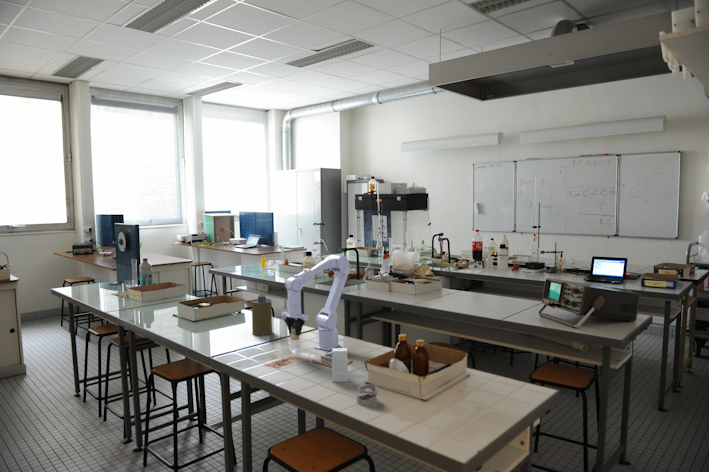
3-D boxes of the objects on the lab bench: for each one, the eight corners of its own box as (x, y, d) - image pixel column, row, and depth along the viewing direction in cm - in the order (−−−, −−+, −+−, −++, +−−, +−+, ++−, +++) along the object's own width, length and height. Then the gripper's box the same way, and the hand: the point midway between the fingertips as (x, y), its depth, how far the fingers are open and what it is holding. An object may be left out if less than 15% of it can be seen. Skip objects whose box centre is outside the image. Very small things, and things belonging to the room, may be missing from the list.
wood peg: (294, 337, 213) (294, 324, 212) (300, 338, 211) (300, 325, 210) (289, 339, 210) (289, 325, 210) (295, 340, 208) (295, 327, 208)
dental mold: (384, 402, 160) (384, 388, 159) (372, 409, 154) (371, 394, 154) (366, 396, 165) (366, 382, 165) (353, 402, 160) (353, 388, 159)
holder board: (327, 356, 209) (327, 349, 208) (352, 361, 201) (352, 354, 200) (312, 362, 201) (312, 355, 200) (338, 368, 192) (338, 361, 192)
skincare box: (347, 377, 182) (347, 347, 182) (348, 381, 178) (347, 351, 177) (332, 378, 182) (331, 347, 181) (332, 382, 178) (331, 351, 177)
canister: (270, 336, 242) (269, 297, 240) (250, 336, 242) (249, 297, 241) (274, 330, 253) (273, 293, 251) (255, 330, 253) (254, 293, 251)
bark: (297, 354, 212) (297, 353, 212) (315, 359, 204) (315, 358, 204) (258, 368, 196) (258, 366, 195) (276, 374, 188) (276, 373, 188)
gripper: (276, 304, 210) (277, 333, 211) (300, 307, 202) (301, 338, 203) (287, 301, 216) (287, 330, 217) (311, 304, 208) (311, 335, 209)
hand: (295, 334), depth 210 cm, fingers closed on wood peg, 3 cm apart
